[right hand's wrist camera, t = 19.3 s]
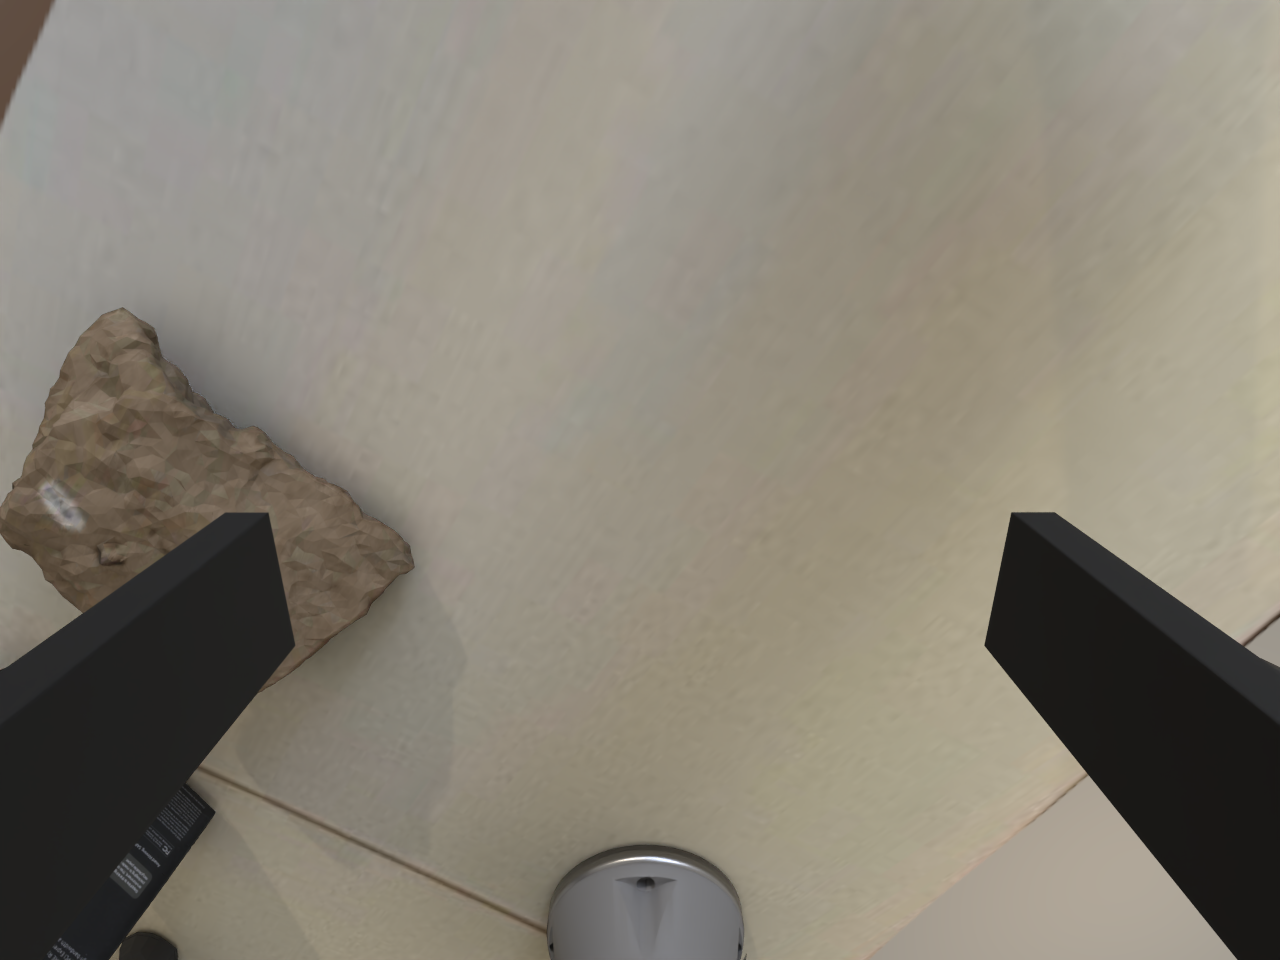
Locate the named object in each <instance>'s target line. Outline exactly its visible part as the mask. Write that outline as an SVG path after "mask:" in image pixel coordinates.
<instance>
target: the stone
mask: <svg viewBox="0 0 1280 960" xmlns="http://www.w3.org/2000/svg"><path fill="white" fill-rule="evenodd" d="M12 485H13V490H12V491H11V492H10V493H8V495H7V497H6V499H5V501H4V502H3V504H2V505H1V507H0V534H1V535H2V536H3V538H4V539H5V541H6V542H7V543H8V544H9V545H10V546H11V548H12V549H17V550H22V551H23V552H25V553H27V554H28V555H30V556H32V558H33V559H34V560H35V561H36V563H37V564H38V565H39V566H40V568H41V569H42V571H43V574H44V577H45V580H47V581H48V582H50V583H52V584H53V586H54V587H55V588H56V589H57V590H58V591H59V593H60V594H61V595H62V596H63V597H64V598H65V599H67V600H68V601H69V602H70V603H72V604H73V605H74V606H75V607H76V608H78V609H79V610H80V611H81V612H82V613H84V612H86V611H87V610H89V609H90V608H91V607H93V606H94V605H96V604H97V603H98V602H100V601H101V600H103V599H104V598H105V597H107V596H108V595H110V594H111V593H112V592H114V591H115V590H117V589H118V588H120V587H121V586H122V585H124V584H125V583H127V582H128V581H129V580H131V579H132V578H134V577H135V576H136V575H138V574H139V573H141V572H142V571H143V570H145V569H146V568H148V567H149V566H151V565H152V564H153V563H155V562H156V561H158V560H159V559H160V558H162V557H163V556H165V555H166V554H167V553H169V552H170V551H172V550H173V549H174V548H176V547H177V546H179V545H180V544H182V543H183V542H184V541H186V540H187V539H189V538H190V537H191V536H193V535H194V534H196V533H197V532H198V531H200V530H201V529H203V528H204V527H205V526H207V525H208V524H210V523H211V522H212V521H214V520H215V519H217V518H218V517H220V516H221V515H222V514H224V513H225V512H269V517H270V522H271V527H272V532H273V537H274V542H275V547H276V552H277V557H278V562H279V567H280V571H281V576H282V581H283V586H284V591H285V596H286V601H287V606H288V611H289V616H290V621H291V626H292V631H293V636H294V641H295V645H296V646H295V647H294V648H293V649H292V651H291V652H290V653H289V654H288V656H287V657H286V658H285V659H284V661H283V662H282V663H281V664H280V666H279V667H278V668H277V669H276V671H275V672H274V673H273V674H272V675H271V677H270V678H269V679H268V680H267V682H266V683H265V684H264V685H263V687H262V688H261V689H260V690H259V692H262V691H263V690H264V689H265V688H267V687H269V686H271V685H273V684H275V683H276V682H277V681H279V680H280V679H282V678H283V677H285V676H286V675H288V674H289V673H291V672H292V671H293V670H295V669H296V668H297V667H299V666H300V665H301V664H302V663H303V662H304V661H305V660H306V659H308V658H310V657H311V656H312V655H313V654H314V653H316V652H317V651H318V650H319V649H320V648H322V647H323V646H324V645H325V644H326V643H327V642H328V641H329V639H331V638H332V637H334V636H335V635H337V634H338V633H339V632H340V631H342V630H343V629H345V628H346V627H347V626H349V625H350V624H352V623H353V622H355V621H356V620H358V619H360V618H361V617H363V616H364V615H366V614H367V612H368V610H369V608H370V606H371V603H372V602H373V601H375V600H376V599H377V598H378V597H379V596H380V595H381V594H382V593H383V592H384V590H385V588H386V587H387V586H389V585H390V584H391V583H392V582H393V581H394V580H395V578H396V577H397V576H398V575H400V574H406V573H408V572H409V571H410V570H412V569H413V568H414V561H413V558H412V555H411V550H410V546H409V544H408V543H406V542H405V541H403V539H402V538H401V537H400V536H399V535H398V534H397V533H396V532H395V531H394V530H393V529H391V528H390V527H388V526H386V525H385V524H383V523H382V522H380V521H378V520H377V519H375V518H373V517H371V516H368V515H366V514H365V513H364V512H362V511H361V509H360V507H359V506H358V505H357V504H356V503H355V502H354V501H353V500H352V498H351V496H350V495H349V493H348V491H346V490H344V489H342V488H340V487H338V486H336V485H334V484H331V483H328V482H327V481H326V480H325V479H322V478H318V477H315V476H313V475H312V474H310V473H309V472H307V471H306V470H304V469H303V468H302V467H301V466H300V464H299V463H298V462H297V461H296V460H295V458H294V457H293V456H291V455H289V454H288V453H286V452H284V451H283V450H281V449H280V448H279V447H277V446H276V445H275V444H273V443H272V441H271V440H270V438H269V437H268V436H267V435H266V433H264V432H263V431H262V430H260V429H259V428H257V427H254V426H252V427H248V428H245V429H237V428H234V426H233V425H232V424H231V423H230V421H229V420H228V419H226V418H224V417H222V416H220V415H217V414H214V412H213V411H212V409H211V408H210V406H209V404H208V403H207V401H206V400H205V398H203V397H202V396H200V395H199V394H197V393H194V392H192V390H191V388H190V385H189V383H188V380H187V379H186V377H185V376H184V375H183V373H182V372H181V371H180V369H179V368H178V367H177V366H175V365H173V364H172V363H170V362H168V361H166V360H165V359H164V358H163V357H162V355H161V351H160V348H159V344H158V338H157V335H156V332H155V329H154V328H153V327H152V326H150V325H149V324H147V323H146V322H144V321H142V320H140V319H138V318H137V317H135V316H134V315H133V314H132V313H130V312H129V311H127V310H126V309H124V308H123V307H122V308H120V309H117V310H114V311H111V312H109V313H106V314H103V315H101V317H100V318H99V319H98V320H97V321H96V322H95V323H94V324H93V325H92V326H90V327H89V328H88V329H87V330H86V331H85V332H84V333H83V334H82V335H81V336H80V337H79V339H78V341H77V343H76V345H75V347H74V348H73V349H72V350H71V351H70V352H69V353H68V355H67V357H66V359H65V361H64V364H63V366H62V368H61V370H60V377H59V379H58V380H57V382H56V383H55V385H54V386H53V387H52V388H51V389H50V392H49V397H48V399H47V400H46V402H45V414H44V419H43V421H42V423H41V425H40V427H39V432H38V434H37V436H36V439H35V441H34V443H33V450H32V451H31V452H30V453H29V455H28V456H27V458H26V460H25V463H24V466H23V472H22V476H21V478H19V479H18V480H16V481H15V482H13V483H12ZM259 692H258V693H259Z"/></svg>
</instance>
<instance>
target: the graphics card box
mask: <svg viewBox="0 0 1280 960" xmlns="http://www.w3.org/2000/svg"><path fill="white" fill-rule="evenodd" d="M214 814H215V811H214V810H213V809H212V808H211V807H210V806H209V805H208V804H207V803H205V802H204V801H203V800H202V799H201V798H200V797H199V795H197V794H196V793H195V792H194V791H193V790H192V789H191V788H190V787H189V786H188V785H187V784H186V783H184V785H183V786H182V787H181V788H180V790H179V791H178V792H177V793H176V795H175V796H174V797H173V798H172V800H171V801H170V802H169V803H168V805H167V806H166V807H165V808H164V810H163V811H162V812H161V813H160V814H159V816H158V817H157V818H156V819H155V821H154V822H153V823H152V824H151V826H150V827H149V828H148V829H147V831H146V832H145V833H144V834H143V836H142V837H141V838H140V839H139V841H138V842H137V843H136V844H135V846H134V847H133V848H132V849H131V850H130V852H129V853H128V854H127V855H126V857H125V858H124V859H123V860H122V862H121V863H120V864H119V865H118V867H117V868H116V869H115V870H114V872H113V873H112V874H111V875H110V877H109V878H108V879H107V880H106V882H105V883H104V884H103V885H102V886H101V888H100V889H99V890H98V891H97V893H96V894H95V895H94V896H93V898H92V899H91V900H90V901H89V903H88V904H87V905H86V906H85V908H84V909H83V910H82V911H81V913H80V914H79V915H78V916H77V918H76V919H75V920H74V921H73V922H72V924H71V925H70V926H69V927H68V929H67V930H66V931H65V932H64V934H63V935H62V936H61V937H60V939H59V940H58V941H57V942H56V944H55V945H54V946H53V947H52V949H51V950H50V951H49V952H48V954H47V955H46V956H45V957H44V958H43V960H109V959H110V958H111V956H112V955H113V954H114V952H115V951H116V949H117V948H118V947H119V945H120V944H121V943H122V941H123V940H124V939H125V938H126V936H127V934H128V933H129V932H130V931H131V929H132V928H133V926H134V925H135V924H136V922H137V921H138V920H139V919H140V917H141V916H142V914H143V913H144V912H145V910H146V909H147V908H148V907H149V905H150V903H151V902H152V901H153V900H154V898H155V897H156V895H157V894H158V893H159V891H160V890H161V889H162V887H163V886H164V884H165V883H166V882H167V880H168V879H169V877H170V876H171V875H172V873H173V872H174V871H175V869H176V867H177V866H178V865H179V863H180V862H181V861H182V859H183V858H184V857H185V855H186V853H187V852H188V851H189V850H190V848H191V846H192V845H193V844H194V843H195V841H196V840H197V839H198V837H199V836H200V834H201V833H202V832H203V830H204V829H205V828H206V826H207V825H208V823H209V822H210V820H211V819H212V817H213V816H214Z"/></svg>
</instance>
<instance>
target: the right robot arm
mask: <svg viewBox="0 0 1280 960" xmlns="http://www.w3.org/2000/svg"><path fill="white" fill-rule="evenodd" d="M295 646H296V645H295V641H294V636H293V631H292V626H291V621H290V616H289V611H288V606H287V601H286V596H285V591H284V586H283V581H282V576H281V571H280V567H279V562H278V557H277V552H276V547H275V542H274V537H273V532H272V527H271V522H270V517H269V512H225V513H224V514H222V515H221V516H220V517H218V518H217V519H215V520H214V521H212V522H211V523H210V524H208V525H207V526H205V527H204V528H203V529H201V530H200V531H198V532H197V533H196V534H194V535H193V536H191V537H190V538H189V539H187V540H186V541H184V542H183V543H182V544H180V545H179V546H177V547H176V548H174V549H173V550H172V551H170V552H169V553H167V554H166V555H165V556H163V557H162V558H160V559H159V560H158V561H156V562H155V563H153V564H152V565H151V566H149V567H148V568H146V569H145V570H143V571H142V572H141V573H139V574H138V575H136V576H135V577H134V578H132V579H131V580H129V581H128V582H127V583H125V584H124V585H122V586H121V587H120V588H118V589H117V590H115V591H114V592H112V593H111V594H110V595H108V596H107V597H105V598H104V599H103V600H101V601H100V602H98V603H97V604H96V605H94V606H93V607H91V608H90V609H89V610H87V611H86V612H84V613H83V614H81V615H80V616H79V617H77V618H76V619H74V620H73V621H72V622H70V623H69V624H67V625H66V626H65V627H63V628H62V629H60V630H59V631H58V632H56V633H55V634H53V635H52V636H50V637H49V638H48V639H46V640H45V641H43V642H42V643H41V644H39V645H38V646H36V647H35V648H34V649H32V650H31V651H29V652H28V653H27V654H25V655H24V656H22V657H21V658H19V659H18V660H17V661H15V662H14V663H12V664H11V665H10V666H8V667H6V668H4V669H2V670H0V960H43V958H44V957H45V956H46V955H47V954H48V952H49V951H50V950H51V949H52V947H53V946H54V945H55V944H56V942H57V941H58V940H59V939H60V937H61V936H62V935H63V934H64V932H65V931H66V930H67V929H68V927H69V926H70V925H71V924H72V922H73V921H74V920H75V919H76V918H77V916H78V915H79V914H80V913H81V911H82V910H83V909H84V908H85V906H86V905H87V904H88V903H89V901H90V900H91V899H92V898H93V896H94V895H95V894H96V893H97V891H98V890H99V889H100V888H101V886H102V885H103V884H104V883H105V882H106V880H107V879H108V878H109V877H110V875H111V874H112V873H113V872H114V870H115V869H116V868H117V867H118V865H119V864H120V863H121V862H122V860H123V859H124V858H125V857H126V855H127V854H128V853H129V852H130V850H131V849H132V848H133V847H134V846H135V844H136V843H137V842H138V841H139V839H140V838H141V837H142V836H143V834H144V833H145V832H146V831H147V829H148V828H149V827H150V826H151V824H152V823H153V822H154V821H155V819H156V818H157V817H158V816H159V814H160V813H161V812H162V811H163V810H164V808H165V807H166V806H167V805H168V803H169V802H170V801H171V800H172V798H173V797H174V796H175V795H176V793H177V792H178V791H179V790H180V788H181V787H182V786H183V785H184V783H185V782H186V781H187V780H188V778H189V777H190V776H191V775H192V774H193V772H194V771H195V770H196V769H197V767H198V766H199V765H200V764H201V762H202V761H203V760H204V759H205V757H206V756H207V755H208V754H209V752H210V751H211V750H212V749H213V747H214V746H215V745H216V744H217V743H218V741H219V740H220V739H221V738H222V736H223V735H224V734H225V733H226V731H227V730H228V729H229V728H230V726H231V725H232V724H233V723H234V721H235V720H236V719H237V718H238V716H239V715H240V714H241V713H242V711H243V710H244V709H245V708H246V707H247V705H248V704H249V703H250V702H251V700H252V699H253V698H254V697H255V695H256V694H257V693H258V692H259V690H260V689H261V688H262V687H263V685H264V684H265V683H266V682H267V680H268V679H269V678H270V677H271V675H272V674H273V673H274V672H275V671H276V669H277V668H278V667H279V666H280V664H281V663H282V662H283V661H284V659H285V658H286V657H287V656H288V654H289V653H290V652H291V651H292V649H293V648H294V647H295ZM984 646H985V647H986V648H987V649H988V651H989V652H990V653H991V654H992V656H993V657H994V658H995V659H996V661H997V662H998V663H999V664H1000V666H1001V667H1002V668H1003V669H1004V671H1005V672H1006V673H1007V674H1008V675H1009V677H1010V678H1011V679H1012V680H1013V682H1014V683H1015V684H1016V685H1017V687H1018V688H1019V689H1020V690H1021V692H1022V693H1023V694H1024V695H1025V697H1026V698H1027V699H1028V700H1029V702H1030V703H1031V704H1032V705H1033V707H1034V708H1035V709H1036V710H1037V711H1038V713H1039V714H1040V715H1041V716H1042V718H1043V719H1044V720H1045V721H1046V723H1047V724H1048V725H1049V726H1050V728H1051V729H1052V730H1053V731H1054V733H1055V734H1056V735H1057V736H1058V738H1059V739H1060V740H1061V741H1062V743H1063V744H1064V745H1065V746H1066V747H1067V749H1068V750H1069V751H1070V752H1071V754H1072V755H1073V756H1074V757H1075V759H1076V760H1077V761H1078V762H1079V764H1080V765H1081V766H1082V767H1083V769H1084V770H1085V771H1086V772H1087V774H1088V775H1089V776H1090V777H1091V778H1092V780H1093V781H1094V782H1095V783H1096V785H1097V786H1098V787H1099V788H1100V790H1101V791H1102V792H1103V793H1104V795H1105V796H1106V797H1107V798H1108V800H1109V801H1110V802H1111V803H1112V805H1113V806H1114V807H1115V808H1116V810H1117V811H1118V812H1119V813H1120V814H1121V816H1122V817H1123V818H1124V819H1125V821H1126V822H1127V823H1128V824H1129V826H1130V827H1131V828H1132V829H1133V831H1134V832H1135V833H1136V834H1137V836H1138V837H1139V838H1140V839H1141V841H1142V842H1143V843H1144V844H1145V846H1146V847H1147V848H1148V849H1149V850H1150V852H1151V853H1152V854H1153V855H1154V857H1155V858H1156V859H1157V860H1158V862H1159V863H1160V864H1161V865H1162V867H1163V868H1164V869H1165V870H1166V871H1167V873H1168V874H1169V875H1170V877H1171V878H1172V879H1173V880H1174V882H1175V883H1176V884H1177V885H1178V886H1179V888H1180V889H1181V890H1182V891H1183V893H1184V894H1185V895H1186V896H1187V898H1188V899H1189V900H1190V901H1191V903H1192V904H1193V905H1194V906H1195V908H1196V909H1197V910H1198V911H1199V913H1200V914H1201V915H1202V916H1203V918H1204V919H1205V920H1206V921H1207V922H1208V924H1209V925H1210V926H1211V927H1212V929H1213V930H1214V931H1215V932H1216V934H1217V935H1218V936H1219V937H1220V939H1221V940H1222V941H1223V942H1224V944H1225V945H1226V946H1227V947H1228V949H1229V950H1230V951H1231V952H1232V954H1233V955H1234V956H1235V957H1236V958H1237V960H1280V667H1278V666H1276V665H1274V664H1272V663H1270V662H1268V661H1265V660H1263V659H1261V658H1259V657H1258V656H1256V655H1255V654H1253V653H1252V652H1251V651H1249V650H1248V649H1246V648H1245V647H1244V646H1242V645H1241V644H1239V643H1238V642H1237V641H1235V640H1234V639H1232V638H1231V637H1230V636H1228V635H1227V634H1225V633H1224V632H1222V631H1221V630H1220V629H1218V628H1217V627H1215V626H1214V625H1213V624H1211V623H1210V622H1208V621H1207V620H1206V619H1204V618H1203V617H1201V616H1200V615H1199V614H1197V613H1196V612H1194V611H1193V610H1191V609H1190V608H1189V607H1187V606H1186V605H1184V604H1183V603H1182V602H1180V601H1179V600H1177V599H1176V598H1175V597H1173V596H1172V595H1170V594H1169V593H1168V592H1166V591H1165V590H1163V589H1162V588H1160V587H1159V586H1158V585H1156V584H1155V583H1153V582H1152V581H1151V580H1149V579H1148V578H1146V577H1145V576H1144V575H1142V574H1141V573H1139V572H1138V571H1137V570H1135V569H1134V568H1132V567H1131V566H1129V565H1128V564H1127V563H1125V562H1124V561H1122V560H1121V559H1120V558H1118V557H1117V556H1115V555H1114V554H1113V553H1111V552H1110V551H1108V550H1107V549H1106V548H1104V547H1103V546H1101V545H1100V544H1098V543H1097V542H1096V541H1094V540H1093V539H1091V538H1090V537H1089V536H1087V535H1086V534H1084V533H1083V532H1082V531H1080V530H1079V529H1077V528H1076V527H1075V526H1073V525H1072V524H1070V523H1069V522H1068V521H1066V520H1065V519H1063V518H1062V517H1060V516H1059V515H1058V514H1056V513H1055V512H1011V517H1010V522H1009V527H1008V532H1007V537H1006V542H1005V547H1004V552H1003V557H1002V562H1001V567H1000V571H999V576H998V581H997V586H996V591H995V596H994V601H993V606H992V611H991V616H990V621H989V626H988V631H987V636H986V641H985V645H984ZM547 941H548V949H549V955H550V958H551V960H740V959H741V955H742V950H743V942H744V924H743V917H742V910H741V904H740V900H739V897H738V894H737V892H736V890H735V888H734V886H733V885H732V883H731V882H730V881H729V879H728V878H727V877H726V876H725V875H724V874H723V873H722V872H721V871H720V870H719V869H718V868H716V867H715V866H714V865H712V864H711V863H709V862H708V861H706V860H704V859H702V858H701V857H698V856H696V855H694V854H691V853H689V852H686V851H683V850H679V849H675V848H670V847H665V846H656V845H635V846H627V847H621V848H616V849H612V850H608V851H605V852H603V853H600V854H597V855H595V856H593V857H591V858H589V859H587V860H585V861H583V862H582V863H580V864H579V865H577V866H576V867H575V868H573V869H572V870H571V871H570V872H569V873H568V874H567V875H566V876H565V877H564V878H563V879H562V881H561V882H560V883H559V885H558V886H557V888H556V890H555V892H554V894H553V896H552V900H551V903H550V909H549V917H548V924H547ZM746 955H747V954H746ZM744 960H746V956H745V958H744Z"/></svg>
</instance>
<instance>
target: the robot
mask: <svg viewBox="0 0 1280 960" xmlns="http://www.w3.org/2000/svg"><path fill="white" fill-rule="evenodd" d="M119 960H178V959H177V949H176V948H175V947H173V946H172V945H171V944H169V943H168V942H167V941H166V940H164V939H163V938H162V937H159V936H157V935H155V934H152V933H142V932H137V933H135V934H133V935H131V936H128V937H126V938H125V939H124V940H123V941H122V945H121V948H120V952H119Z"/></svg>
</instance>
